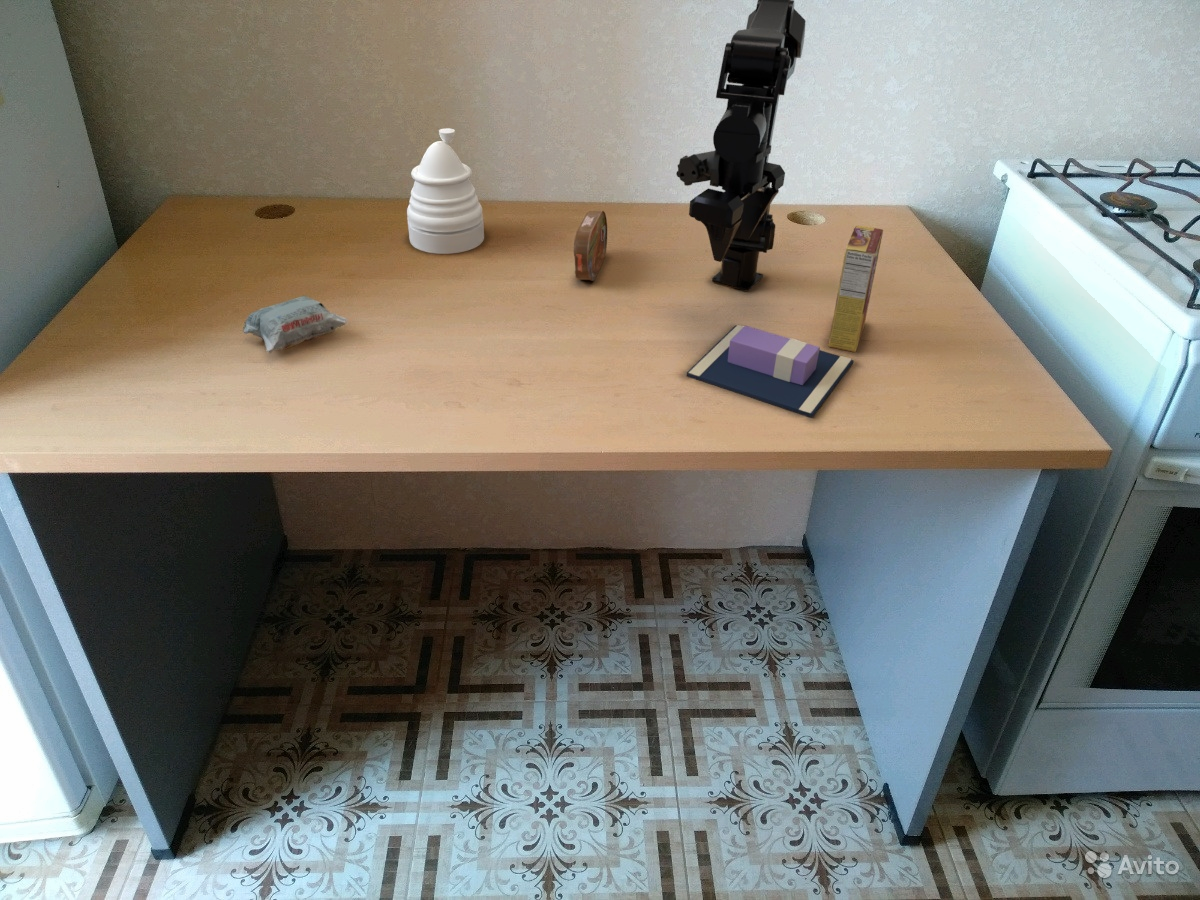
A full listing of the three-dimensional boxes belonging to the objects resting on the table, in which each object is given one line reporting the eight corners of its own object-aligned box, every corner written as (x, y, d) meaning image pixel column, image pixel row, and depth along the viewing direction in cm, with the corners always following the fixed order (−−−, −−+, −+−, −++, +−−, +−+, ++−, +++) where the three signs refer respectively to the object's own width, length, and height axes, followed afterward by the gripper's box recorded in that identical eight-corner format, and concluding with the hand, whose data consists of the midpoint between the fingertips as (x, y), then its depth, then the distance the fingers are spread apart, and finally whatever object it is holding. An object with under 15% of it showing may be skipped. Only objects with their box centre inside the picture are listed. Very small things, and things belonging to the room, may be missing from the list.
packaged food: (349, 336, 126) (343, 305, 123) (270, 364, 120) (262, 332, 117) (320, 315, 131) (314, 284, 128) (243, 340, 125) (235, 308, 122)
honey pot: (445, 218, 162) (437, 116, 151) (499, 236, 156) (494, 132, 145) (393, 240, 153) (381, 135, 142) (448, 260, 147) (439, 152, 136)
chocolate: (742, 347, 126) (745, 324, 124) (815, 369, 121) (820, 346, 119) (727, 362, 122) (729, 339, 120) (802, 386, 118) (806, 362, 116)
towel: (735, 328, 131) (736, 324, 131) (852, 363, 124) (853, 359, 123) (686, 376, 120) (686, 371, 120) (812, 418, 113) (812, 413, 112)
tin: (590, 289, 140) (591, 239, 135) (570, 287, 141) (570, 237, 136) (608, 251, 152) (610, 203, 147) (590, 249, 152) (591, 201, 147)
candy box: (835, 319, 134) (855, 223, 125) (864, 325, 133) (886, 228, 124) (825, 347, 127) (845, 247, 118) (855, 353, 126) (878, 253, 117)
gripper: (720, 111, 126) (709, 216, 136) (657, 145, 113) (650, 258, 123) (793, 125, 122) (777, 232, 131) (737, 162, 109) (723, 279, 118)
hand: (731, 249), depth 126 cm, fingers open, 9 cm apart
